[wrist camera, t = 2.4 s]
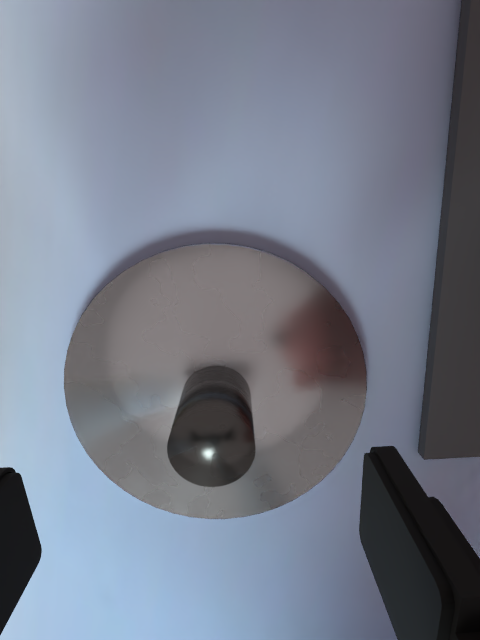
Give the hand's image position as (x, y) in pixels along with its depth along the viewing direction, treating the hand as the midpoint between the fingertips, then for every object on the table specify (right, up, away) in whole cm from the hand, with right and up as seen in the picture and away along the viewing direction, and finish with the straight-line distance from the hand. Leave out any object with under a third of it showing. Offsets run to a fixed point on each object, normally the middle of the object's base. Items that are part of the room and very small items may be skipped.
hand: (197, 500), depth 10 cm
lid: (0, +2, +8) cm, 8 cm away
